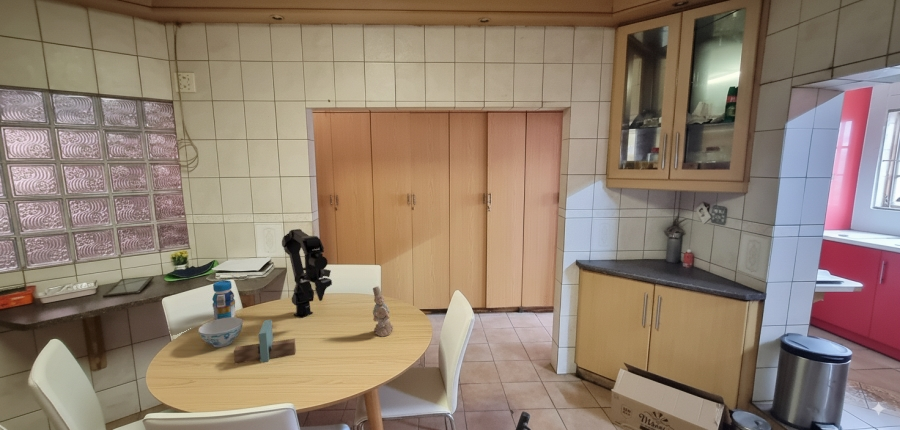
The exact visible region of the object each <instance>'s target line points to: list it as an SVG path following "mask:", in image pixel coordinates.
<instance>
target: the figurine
mask: <svg viewBox="0 0 900 430" xmlns="http://www.w3.org/2000/svg"><path fill="white" fill-rule="evenodd" d="M372 291H373V295H374V298H373V301H374V303H375V305H374V307H373V309H372V316H373V321H374V322H377V323H376V324H375V327H374V329H373V331H375V335H377V336H379V337H386V336H389V335H390V334H391V333H392V332H393V330H394V325H392V323H391V321H390V317H391V316H390V309H389V307H388V305H387V302H385V295H383V293H382V291H381V288H380V287H379V285H378V286H375V287H373V288H372Z"/></svg>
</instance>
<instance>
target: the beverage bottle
mask: <svg viewBox="0 0 900 430" xmlns="http://www.w3.org/2000/svg"><path fill="white" fill-rule="evenodd" d="M212 286H213V287H212V289H213V292H214V294H213V296H212V301H213V303H212V308H213V309H212V310H213V317H214V320H217V319H222V318H229V317H236V318H237V316H236V300H235V294H234V292H233V291H232V286H233V285H232V281H231V280H220V281H217V282H214V283H213V284H212Z"/></svg>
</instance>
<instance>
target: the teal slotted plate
mask: <svg viewBox="0 0 900 430" xmlns="http://www.w3.org/2000/svg"><path fill="white" fill-rule="evenodd" d="M272 321H273V320H272V319H266V320H265V319H264V321H263V324H262V326H261V328H260V330H259V332H258V339H259V340H258V344H260V357H261V360H260V363H265V362H269V360H270V358H269V349H270V348H271V345H272V342H273V341H274V334H273V322H272Z"/></svg>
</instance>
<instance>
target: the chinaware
mask: <svg viewBox="0 0 900 430" xmlns="http://www.w3.org/2000/svg"><path fill="white" fill-rule="evenodd" d="M243 324H244V320H243V319H242V318H241V317H237V316H236V317H229V318H222V319H217V320H215V319H214V320H212V321H211V320H210V321H208V322H206V323H204V324H202V325H201V326H200V327H198V333H199V335H200V338H201V339H202V340H203V341H204V342H206V343H207V344H209V345H212V346H213V347H214V348H222V347H226V346H229V345H231V344H232V343H233V341H234V340H235V339H236V338H237V337H238V336H239V334H240V333H241V330H242V329H243Z"/></svg>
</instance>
